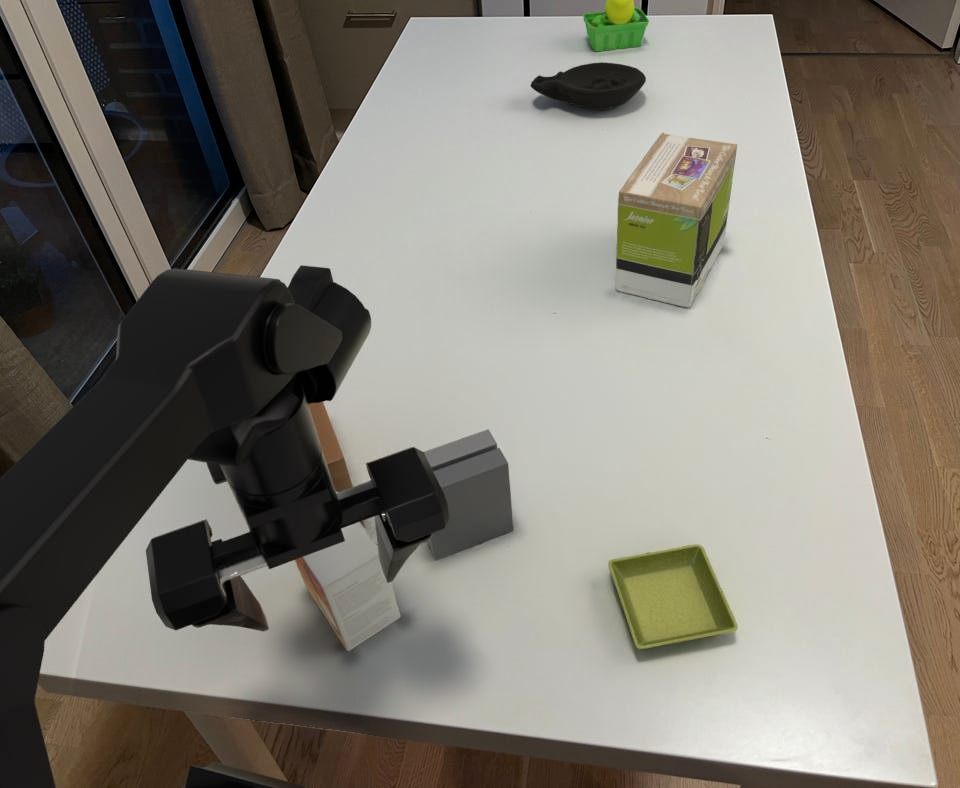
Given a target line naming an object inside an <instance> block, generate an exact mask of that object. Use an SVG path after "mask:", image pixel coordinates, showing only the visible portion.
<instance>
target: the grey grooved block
mask: <svg viewBox="0 0 960 788" xmlns="http://www.w3.org/2000/svg"><path fill="white" fill-rule="evenodd" d="M423 452H424V454H425V456H426V458H427V460H428V462H429V464H430V466H431V468H432V470H433V472H434V474H435V476H436V478H437V480H438V482H439V484H440V486H441V488H442V490H443V492H444V495H445V498H446V501H447V503H448V509H449V515H450V520H449V522H448V524H447V526H446V528H445V529H442V530H440V531H437V532H434V533H433V535H432V537H431V539H430V540H428V541H427V544H428V547H429V550H430V552H431V555H432V556H433V558H434V561H438V560H441V559H443V558H445V557H448V556H451V555H454V554H456V553H459V552H461V551H463V550H467V549H469V548H471V547H474V546H477V545H479V544H482V543H484V542H487V541H490V540H493V539H495V538H497V537H500V536H503V535H505V534H508V533H510V532H514V519H513V508H512V495H511V482H510V467H509V462H508V460H507V458H506V456H505V455H504V453H503V451H502V449H501V448H500V447H498V443H497V441H496V439H495V437H494V436H493V434H492V433H491V430H490V429H485V430H482V431H479V432H477V433H474V434H470V435H468V436H465V437H462V438H460V439H456V440H454V441H451V442H448V443H445V444H441V445H440V446H439V445H438V446H437V447H434V448H432V449H431V448H430V449H427V450H425V451H423Z"/></svg>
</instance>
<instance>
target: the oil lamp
mask: <svg viewBox="0 0 960 788" xmlns="http://www.w3.org/2000/svg"><path fill="white" fill-rule="evenodd" d="M646 81H647V77H646V75H645V74H644V73H643V72H642V71H641V70H640V69H639V68H636V67H634V66H630V65H625V64H623V63H614V62H603V61H601V62H592V63H591V62H590V63H585V64H581V65H577V66H573V67H571V68H568V69H567V70H565V71H558V72H557V74H555V75H552V76H543V75H537V76H536V77H535V78H534V79H533V80H532V81H531V82H530V87H531V89H532V90H534V91H535V92H536V93H538V94H540V95H542V96H544V97H546V98H549V99H551V100H554V101H558V102H561V103H562V102H563V103H566V104H570V105H573V106H577V107H581V108H584V109H585V108H586V109H590V110H605V109H606V110H607V109H613V108H618V107H619V106H623V105H624V104H626V103H628V101H630V100H631V99H632V98H633V97H634V96H635V95H636V94H637V93H638V92H639V91H640V90H641V89H642V88H643V87H644V85H645V83H646Z"/></svg>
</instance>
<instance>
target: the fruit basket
mask: <svg viewBox="0 0 960 788" xmlns="http://www.w3.org/2000/svg"><path fill="white" fill-rule="evenodd" d="M604 10H605V11H597V12H589V13H584V14H583V15H582V18H583V22H584V23H585V28H586V34H587V38H588V42H589V44H590V46H591V48H592V49H593V51H594V52H603V51H613V50H621V49H628V48H638V47H641V44H642V41H643V38H644V35H645V32H646V29H647V27H648V25H649V22H650V19H649V18H648V17H647V15H646V14H645V13H644V11H643V10H642V9H641V8H639V7H635V2H634V0H606V2H605V4H604Z"/></svg>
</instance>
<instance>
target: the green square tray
mask: <svg viewBox="0 0 960 788" xmlns="http://www.w3.org/2000/svg"><path fill="white" fill-rule="evenodd" d="M607 565H608V567H609V571H610V574H611V576H612V580H613V582H614V586H615V589H616V592H617V594H618V597H619V601H620V604H621V607H622V610H623V612H624V616H625V619H626V622H627V625H628V627H629V631H630V633H631V637H632V639H633V643H634V646H635V648H637V649H638V650H646V649H650V648H657V647H661V646H667V645H671V644H677V643H682V642H688V641H693V640H697V639H702V638H708V637H713V636H718V635H724V634H729V633H734V632H736V631H738V628H739V625H738V622H737V620H736V618H735V616H734V614H733V612H732V609H731V607H730V605H729V602H728V600H727V598H726V596H725V593H724V591H723V588H722V587H721V585H720V582H719V580H718V578H717V576H716V573H715V571H714V568H713V566H712V564H711V562H710V559H709V557H708V555H707V553H706V550H705V548H704V546H703V545H701V544H697V543H696V544H689V545H684V546H679V547H674V548H668V549H663V550H658V551H657V550H656V551H652V552H647V553H642V554H641V553H640V554H636V555H635V554H634V555H630V556H623V557H619V558H613V559H610V560H608V564H607Z"/></svg>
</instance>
